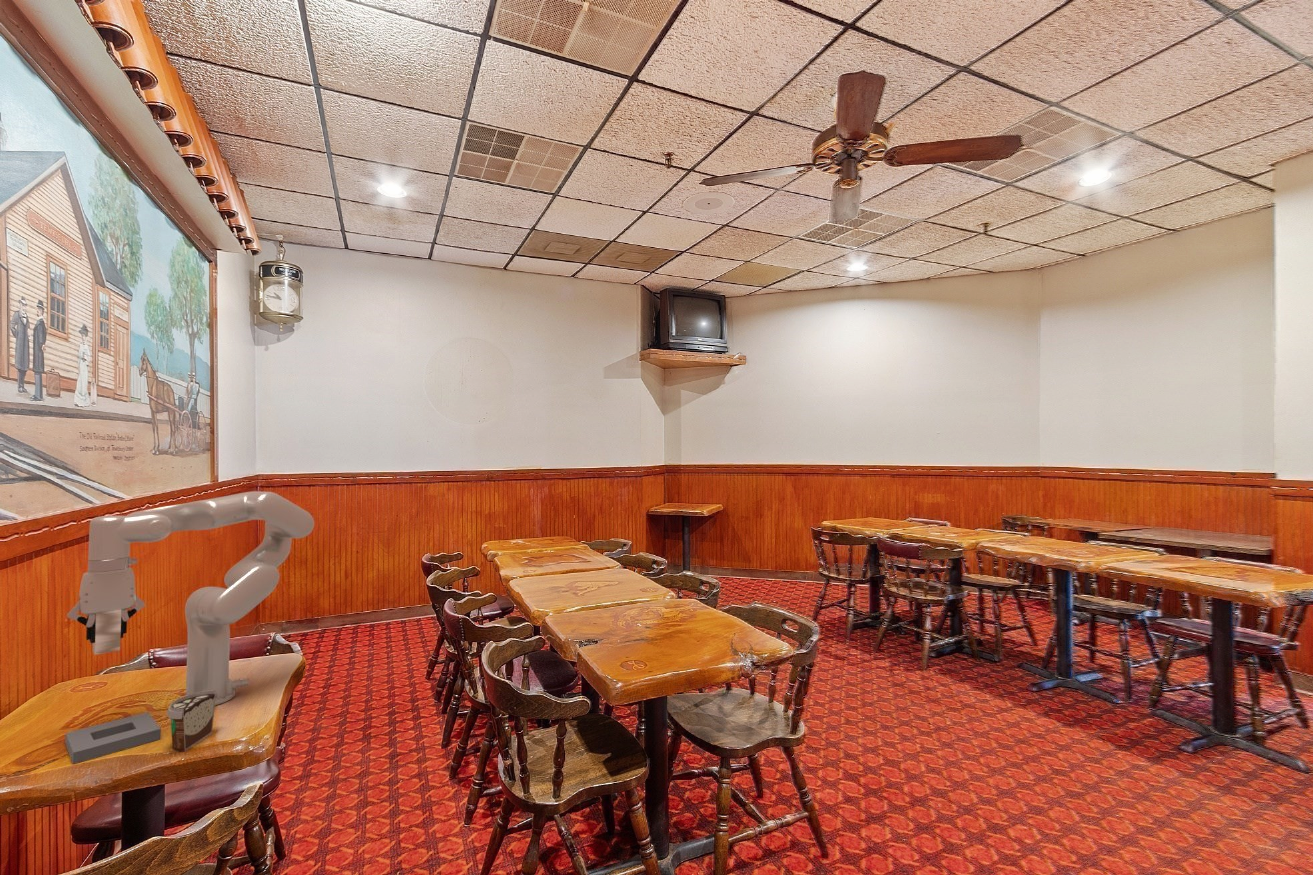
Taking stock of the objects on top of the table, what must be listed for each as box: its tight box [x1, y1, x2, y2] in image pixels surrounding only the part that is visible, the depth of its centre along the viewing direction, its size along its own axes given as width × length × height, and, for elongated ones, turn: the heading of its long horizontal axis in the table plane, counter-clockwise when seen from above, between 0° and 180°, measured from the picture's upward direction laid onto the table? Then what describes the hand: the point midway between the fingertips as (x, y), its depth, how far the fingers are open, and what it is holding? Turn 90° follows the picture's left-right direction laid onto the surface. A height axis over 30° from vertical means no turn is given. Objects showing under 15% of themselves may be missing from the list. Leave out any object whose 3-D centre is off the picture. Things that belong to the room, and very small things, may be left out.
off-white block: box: [91, 609, 121, 656], centre depth 144 cm, size 4×4×10 cm
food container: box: [166, 690, 217, 752], centre depth 139 cm, size 12×6×10 cm, turn 5°
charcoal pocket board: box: [64, 711, 162, 765], centre depth 139 cm, size 15×15×2 cm
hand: (106, 638), depth 144 cm, fingers closed on off-white block, 4 cm apart
